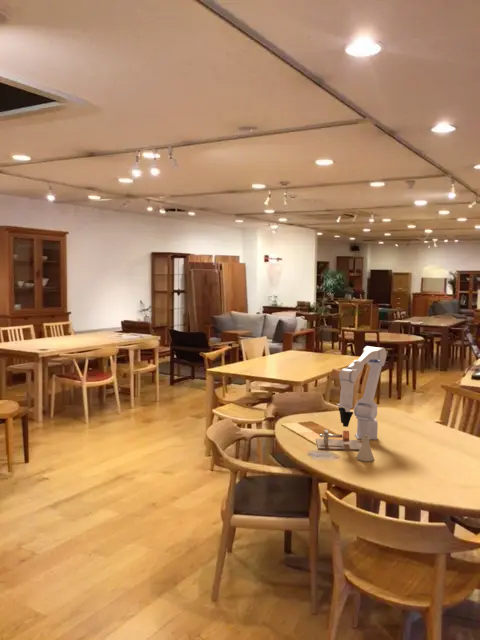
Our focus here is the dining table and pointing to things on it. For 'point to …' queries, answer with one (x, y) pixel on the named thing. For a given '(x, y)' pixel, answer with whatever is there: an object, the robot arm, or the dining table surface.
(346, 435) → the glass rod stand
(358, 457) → the flask
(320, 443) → the board
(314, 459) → the dining table surface
